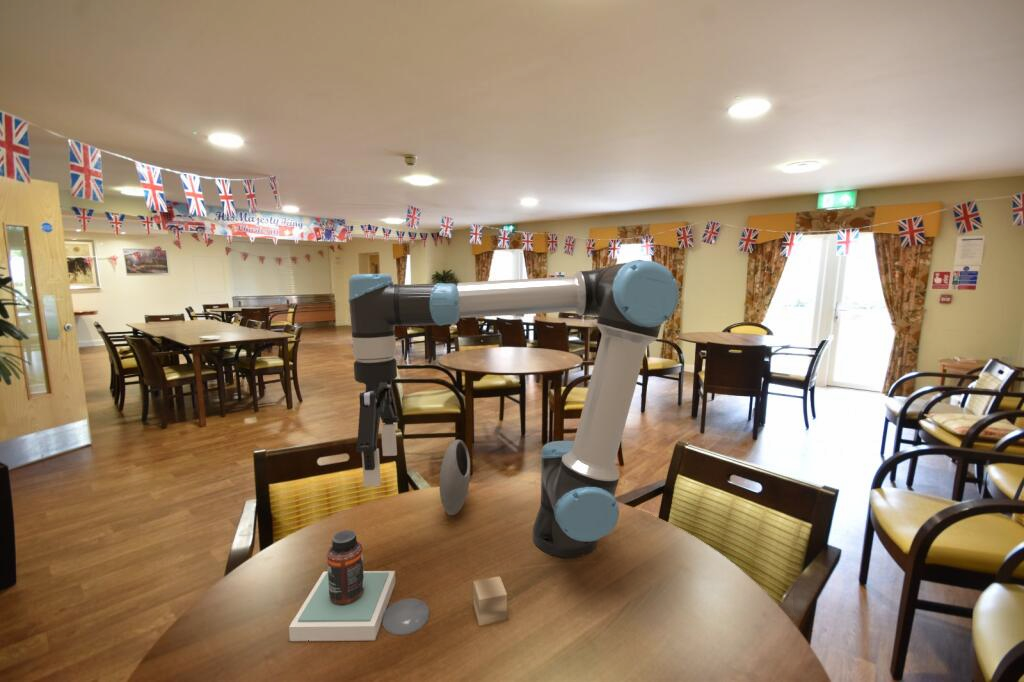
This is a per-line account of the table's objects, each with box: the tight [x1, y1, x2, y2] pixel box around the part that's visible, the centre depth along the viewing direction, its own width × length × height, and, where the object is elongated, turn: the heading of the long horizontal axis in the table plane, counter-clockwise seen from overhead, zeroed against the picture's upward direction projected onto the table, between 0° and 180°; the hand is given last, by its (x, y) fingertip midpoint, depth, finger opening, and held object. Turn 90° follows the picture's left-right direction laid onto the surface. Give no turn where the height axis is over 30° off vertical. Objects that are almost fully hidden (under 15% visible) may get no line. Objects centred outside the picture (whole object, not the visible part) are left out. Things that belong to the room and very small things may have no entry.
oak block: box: [473, 576, 508, 626], centre depth 78 cm, size 5×5×5 cm
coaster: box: [382, 597, 430, 636], centre depth 77 cm, size 8×8×1 cm
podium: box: [288, 570, 396, 642], centre depth 78 cm, size 14×14×3 cm
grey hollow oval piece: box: [439, 439, 471, 516], centre depth 113 cm, size 18×7×19 cm, turn 176°
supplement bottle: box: [326, 529, 364, 604], centre depth 78 cm, size 6×6×11 cm
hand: (381, 469), depth 82 cm, fingers open, 13 cm apart
